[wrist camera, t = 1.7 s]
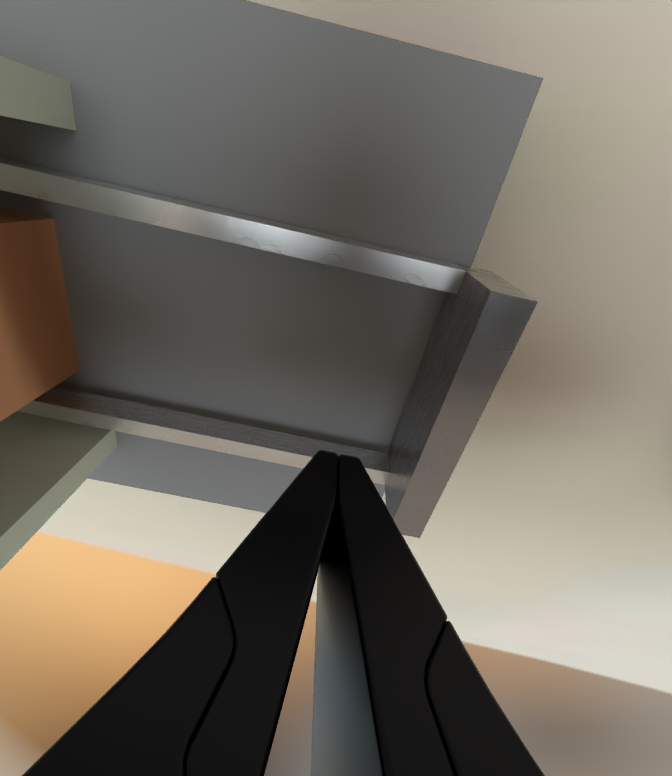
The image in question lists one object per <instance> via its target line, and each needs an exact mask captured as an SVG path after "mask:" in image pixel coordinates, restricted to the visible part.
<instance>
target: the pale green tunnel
mask: <svg viewBox="0 0 672 776" xmlns="http://www.w3.org/2000/svg"><path fill="white" fill-rule="evenodd" d="M0 115H1V116H5V117H10V118H15V119H20V120H25V121H30V122H35V123H40V124H45V125H50V126H55V127H60V128H65V129H70V130H75V131H76V124H75V117H74V109H73V101H72V94H71V86H70V81H67V80H65V79H62V78H59V77H57V76H54V75H51V74H48V73H46V72H43V71H40V70H38V69H35V68H32V67H29V66H27V65H24V64H21V63H18V62H16V61H13V60H10V59H8V58H5V57H2V56H0ZM116 447H117V439H116V431H113V430H108V429H103V428H98V427H93V426H88V425H83V424H78V423H73V422H68V421H63V420H58V419H53V418H48V417H43V416H38V415H33V414H28V413H23V412H18V411H16V412H14V413H13V414H11V415H10V416H8V417H6V418H5V419H3V420H2V421H0V570H1V569H2V568H3V567H4V566H5V565H6V564H7V562H8V561H9V560H10V559H11V558H12V557H13V556H14V555H15V554H16V553H17V552H18V551H19V550H20V549H21V548H22V547H23V546H24V545H25V544H26V542H27V541H28V540H29V539H30V538H31V537H32V536H33V535H34V534H35V533H36V532H37V531H38V530H39V529H40V528H41V527H42V526H43V525H44V523H45V522H46V521H47V520H48V519H49V518H50V517H51V516H52V515H53V514H54V513H55V512H56V511H57V510H58V509H59V508H60V507H61V505H62V504H63V503H64V502H65V501H66V500H67V499H68V498H69V497H70V496H71V495H72V494H73V493H74V492H75V491H76V490H77V489H78V487H79V486H80V485H81V484H82V483H83V482H84V481H85V480H86V479H87V478H88V477H89V476H90V475H91V474H92V473H93V472H94V471H95V469H96V468H97V467H98V466H99V465H100V464H101V463H102V462H103V461H104V460H105V459H106V458H107V457H108V456H109V455H110V454H111V453H112V452H113V450H114V449H115V448H116Z"/></svg>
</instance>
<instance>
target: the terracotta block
mask: <svg viewBox="0 0 672 776" xmlns="http://www.w3.org/2000/svg"><path fill="white" fill-rule="evenodd" d="M79 370H80V367H79V361H78V355H77V349H76V344H75V338H74V332H73V326H72V321H71V315H70V309H69V303H68V298H67V292H66V286H65V280H64V275H63V269H62V263H61V257H60V252H59V246H58V240H57V235H56V229H55V223H54V219H53V218H49V217H45V216H40V215H36V214H31V213H27V212H23V211H18V210H14V209H9V208H5V207H0V421H2V420H3V419H5V418H6V417H8V416H10V415H11V414H13V413H14V412H16V411H17V410H19V409H20V408H22V407H23V406H25V405H27V404H28V403H30V402H31V401H33V400H34V399H36V398H37V397H39V396H40V395H42V394H44V393H45V392H47V391H48V390H50V389H51V388H53V387H54V386H56V385H58V384H59V383H61V382H62V381H64V380H65V379H67V378H68V377H70V376H71V375H73V374H75V373H76V372H78V371H79Z"/></svg>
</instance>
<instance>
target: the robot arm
mask: <svg viewBox="0 0 672 776" xmlns="http://www.w3.org/2000/svg"><path fill="white" fill-rule="evenodd" d="M317 573H318V578H317V608H316V636H315V665H314V693H313V722H312V750H311V776H545V775H544V774H543V772H542V771H541V769H540V768H539V766H538V765H537V763H536V762H535V760H534V759H533V757H532V756H531V754H530V753H529V751H528V750H527V748H526V746H525V745H524V743H523V742H522V741H521V739H520V737H519V736H518V734H517V733H516V731H515V729H514V728H513V726H512V725H511V723H510V721H509V720H508V718H507V717H506V715H505V714H504V712H503V710H502V709H501V708H500V706H499V704H498V703H497V701H496V699H495V698H494V696H493V695H492V693H491V692H490V690H489V688H488V686H487V685H486V683H485V681H484V680H483V678H482V676H481V674H480V673H479V671H478V669H477V668H476V666H475V664H474V663H473V661H472V659H471V657H470V656H469V654H468V652H467V651H466V649H465V647H464V645H463V643H462V642H461V640H460V638H459V636H458V634H457V633H456V631H455V629H454V627H453V625H452V624H451V622H450V621H446V620H447V615H446V613H445V611H444V610H443V608H442V606H441V604H440V602H439V601H438V599H437V597H436V595H435V593H434V592H433V590H432V588H431V586H430V584H429V583H428V581H427V579H426V577H425V575H424V574H423V572H422V570H421V568H420V566H419V565H418V563H417V561H416V559H415V557H414V556H413V554H412V552H411V550H410V548H409V547H408V545H407V543H406V541H405V539H404V538H403V536H402V534H401V532H400V530H399V529H398V527H397V525H396V523H395V521H394V520H393V518H392V516H391V514H390V512H389V511H388V509H387V507H386V505H385V503H384V502H383V500H382V498H381V496H380V494H379V493H378V491H377V489H376V487H375V485H374V484H373V482H372V480H371V478H370V476H369V475H368V473H367V471H366V469H365V467H364V466H363V464H362V462H361V460H360V459H359V458H358V457H354V456H349V455H344V454H341V455H339V457H338V454H337V453H335V452H330V451H325V450H319V451H317V453H316V454H315V455H314V456H313V457H312V459H311V460H310V461H309V462H308V463H307V465H306V466H305V467H304V468H303V469H302V471H301V472H300V473H299V474H298V475H297V477H296V478H295V479H294V480H293V481H292V483H291V484H290V485H289V486H288V487H287V489H286V490H285V491H284V492H283V494H282V495H281V496H280V497H279V498H278V500H277V501H276V502H275V503H274V504H273V506H272V507H271V508H270V509H269V510H268V512H267V513H266V514H265V515H264V516H263V518H262V519H261V520H260V521H259V522H258V524H257V525H256V526H255V527H254V528H253V530H252V531H251V532H250V533H249V535H248V536H247V537H246V538H245V539H244V541H243V542H242V543H241V544H240V545H239V547H238V548H237V549H236V550H235V551H234V553H233V554H232V555H231V556H230V557H229V559H228V560H227V561H226V562H225V563H224V565H223V566H222V567H221V568H220V569H219V571H218V572H217V573H216V578H215V577H213V578H212V579H211V580H210V581H209V582H208V584H207V585H206V586H205V587H204V588H203V590H202V591H201V592H200V593H199V594H198V596H197V597H196V598H195V599H194V600H193V601H192V603H191V604H190V605H189V606H188V607H187V608H186V609H185V611H184V612H183V613H182V614H181V615H180V616H179V617H178V619H177V620H176V621H175V622H174V623H173V624H172V626H170V628H169V629H168V630H167V631H166V632H165V633H164V634H163V635H162V636H161V637H160V638H159V640H158V641H157V642H156V643H155V644H154V645H153V646H152V647H151V648H150V649H149V650H148V651H147V652H146V653H145V654H144V655H143V656H142V657H141V658H140V659H139V660H138V661H137V662H136V663H135V664H134V665H133V666H132V668H130V669H129V670H128V671H127V673H126V674H125V675H124V676H123V677H122V678H121V679H119V681H118V682H116V684H114V686H112V688H110V689H109V690H108V691H107V692H106V693H105V695H103V696H102V697H101V698H100V699H99V700H98V701H97V702H96V703H95V704H94V705H93V706H92V707H91V708H90V709H89V710H88V711H87V712H86V713H85V714H84V715H83V716H82V717H81V718H80V719H79V720H78V721H77V722H76V723H75V724H74V725H73V726H72V727H71V728H70V729H69V730H68V731H67V732H66V733H65V734H64V735H63V736H62V737H61V738H60V739H59V740H58V741H57V742H56V743H55V744H54V745H52V746H51V747H50V748H49V749H48V750H47V751H46V752H45V753H44V754H43V755H42V756H41V757H40V759H38V760H37V761H36V762H35V763H34V764H33V765H32V766H31V767H30V768H29V769H28V770H27V771H26V772H25V773H24V774H23V775H22V776H264V774H265V769H266V766H267V762H268V758H269V755H270V751H271V747H272V743H273V739H274V736H275V732H276V728H277V724H278V720H279V717H280V712H281V709H282V705H283V701H284V697H285V694H286V690H287V686H288V683H289V679H290V675H291V671H292V667H293V663H294V660H295V656H296V652H297V648H298V645H299V641H300V637H301V633H302V629H303V626H304V622H305V618H306V614H307V610H308V607H309V603H310V599H311V595H312V592H313V588H314V584H315V580H316V576H317Z"/></svg>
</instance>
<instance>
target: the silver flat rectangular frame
mask: <svg viewBox="0 0 672 776" xmlns="http://www.w3.org/2000/svg"><path fill="white" fill-rule="evenodd" d="M0 190H3V191H8V192H12V193H16V194H21V195H25V196H29V197H34V198H38V199H43V200H47V201H51V202H56V203H60V204H64V205H69V206H73V207H78V208H82V209H86V210H91V211H95V212H99V213H104V214H108V215H113V216H117V217H121V218H126V219H130V220H134V221H139V222H143V223H147V224H152V225H156V226H161V227H165V228H169V229H174V230H178V231H182V232H187V233H191V234H196V235H200V236H204V237H209V238H213V239H217V240H222V241H226V242H231V243H235V244H239V245H244V246H248V247H252V248H257V249H261V250H266V251H270V252H274V253H279V254H283V255H287V256H292V257H296V258H301V259H305V260H309V261H314V262H318V263H322V264H327V265H331V266H336V267H340V268H344V269H349V270H353V271H357V272H362V273H366V274H371V275H375V276H379V277H384V278H388V279H392V280H397V281H401V282H406V283H410V284H414V285H419V286H423V287H427V288H432V289H436V290H441V291H445V292H446V295H445V297H444V300H443V303H442V306H441V308H440V311H439V314H438V317H437V319H436V322H435V325H434V328H433V330H432V333H431V336H430V339H429V341H428V344H427V347H426V350H425V352H424V355H423V358H422V361H421V363H420V366H419V369H418V372H417V374H416V377H415V380H414V383H413V385H412V388H411V391H410V394H409V396H408V399H407V402H406V405H405V407H404V410H403V413H402V416H401V418H400V421H399V424H398V427H397V429H396V432H395V435H394V438H393V440H392V443H391V446H390V449H389V451H388V454H385V453H380V452H375V451H370V450H365V449H360V448H355V447H350V446H346V445H341V444H336V443H331V442H326V441H321V440H316V439H311V438H306V437H302V436H297V435H292V434H287V433H282V432H277V431H272V430H267V429H262V428H258V427H253V426H248V425H243V424H238V423H233V422H228V421H223V420H218V419H214V418H209V417H204V416H199V415H194V414H189V413H184V412H179V411H174V410H170V409H165V408H160V407H155V406H150V405H145V404H140V403H135V402H130V401H126V400H121V399H116V398H111V397H106V396H101V395H96V394H91V393H86V392H82V391H77V390H72V389H67V388H62V387H57V386H54V387H53V388H51V389H50V390H48V391H47V392H45V393H44V394H42V395H40V396H39V397H37V398H36V399H34V400H33V401H31V402H30V403H28V404H27V405H25V406H23V407H22V408H20V409H19V410H17V411H18V412H23V413H28V414H33V415H38V416H43V417H48V418H53V419H58V420H63V421H68V422H73V423H78V424H83V425H88V426H93V427H98V428H103V429H108V430H113V431H118V432H123V433H128V434H133V435H138V436H143V437H148V438H153V439H158V440H163V441H168V442H173V443H178V444H183V445H188V446H193V447H198V448H203V449H208V450H213V451H218V452H223V453H228V454H233V455H238V456H243V457H248V458H253V459H258V460H263V461H268V462H273V463H278V464H283V465H288V466H293V467H298V468H304V467H305V466H306V465H307V463H308V462H309V461H310V460H311V459H312V457H313V456H314V455H315V454H316V453H317V451H319V450H325V451H330V452H335V453H337V454H338V457H339V455H341V454H344V455H349V456H354V457H358V458H359V459H360V460H361V462H362V464H363V466H364V467H365V469H366V471H367V473H368V475H369V476H370V478H371V480H372V482H373V483H378V484H383V485H385V495H386V507H387V509H388V511H389V512H390V514H391V516H392V518H393V520H394V521H395V523H396V525H397V527H398V529H399V530H400V532H401V534H402V535H407V536H412V537H417V538H420V536H421V534H422V532H423V530H424V528H425V526H426V524H427V522H428V520H429V518H430V516H431V514H432V512H433V510H434V508H435V506H436V504H437V502H438V500H439V498H440V496H441V494H442V492H443V490H444V488H445V486H446V484H447V482H448V480H449V478H450V476H451V474H452V472H453V470H454V468H455V466H456V464H457V462H458V460H459V458H460V456H461V454H462V452H463V450H464V448H465V446H466V444H467V442H468V440H469V438H470V436H471V434H472V432H473V430H474V428H475V426H476V424H477V422H478V420H479V418H480V416H481V414H482V412H483V410H484V408H485V406H486V404H487V402H488V400H489V398H490V396H491V394H492V392H493V390H494V388H495V386H496V384H497V382H498V380H499V378H500V376H501V374H502V372H503V370H504V368H505V366H506V364H507V362H508V360H509V358H510V356H511V354H512V352H513V350H514V348H515V346H516V344H517V342H518V340H519V338H520V336H521V334H522V332H523V330H524V328H525V326H526V324H527V322H528V320H529V318H530V316H531V314H532V312H533V310H534V308H535V306H536V304H537V301H536V300H534V299H533V298H531V297H529V296H528V295H526V294H525V293H523V292H522V291H520V290H519V289H517V288H515V287H514V286H512V285H511V284H509V283H508V282H506V281H505V280H503V279H501V278H500V277H498V276H497V275H495V274H494V273H492V272H489V271H485V270H481V269H477V268H472V267H468V266H464V265H459V264H455V263H451V262H447V261H442V260H438V259H434V258H429V257H425V256H421V255H416V254H412V253H408V252H404V251H399V250H395V249H391V248H386V247H382V246H378V245H374V244H369V243H365V242H361V241H356V240H352V239H348V238H343V237H339V236H335V235H331V234H326V233H322V232H318V231H313V230H309V229H305V228H301V227H296V226H292V225H288V224H283V223H279V222H275V221H270V220H266V219H262V218H258V217H253V216H249V215H245V214H240V213H236V212H232V211H228V210H223V209H219V208H215V207H210V206H206V205H202V204H197V203H193V202H189V201H185V200H180V199H176V198H172V197H167V196H163V195H159V194H155V193H150V192H146V191H142V190H137V189H133V188H129V187H124V186H120V185H116V184H112V183H107V182H103V181H99V180H94V179H90V178H86V177H82V176H77V175H73V174H69V173H64V172H60V171H56V170H51V169H47V168H43V167H39V166H34V165H30V164H26V163H21V162H17V161H13V160H9V159H4V158H0Z"/></svg>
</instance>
